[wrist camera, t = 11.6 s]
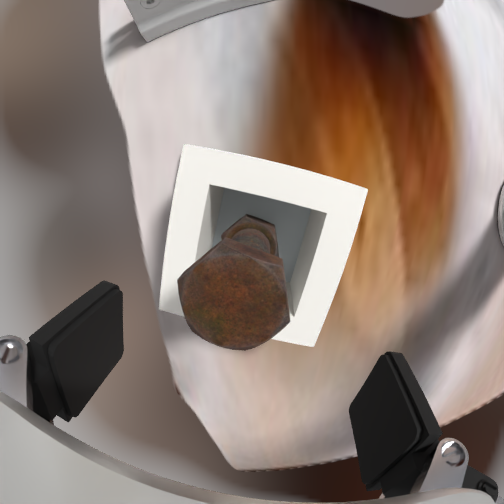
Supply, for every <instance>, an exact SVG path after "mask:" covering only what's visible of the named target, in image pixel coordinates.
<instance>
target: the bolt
mask: <svg viewBox="0 0 504 504" xmlns="http://www.w3.org/2000/svg"><path fill="white" fill-rule="evenodd" d="M177 284H178V293H179V298H180V303H181V307H182V310H183V314H184V317H185V319H186V321H187V324H188V325H189V327H190V329H191V330H192V331H193V332H194V333H195V334H197V335H198V336H200V337H201V338H203V339H204V340H206V341H208V342H210V343H212V344H215V345H217V346H220V347H223V348H228V349H233V350H248V349H252V348H255V347H257V346H259V345H261V344H263V343H265V342H266V341H268V340H270V339H271V338H273V337H274V336H275V335H277V334H278V333H279V332H280V331H281V330H282V329H284V328H285V327H286V326H287V325H288V324H289V323H290V311H289V303H288V295H287V288H286V280H285V273H284V266H283V259H282V258H280V257H279V249H278V242H277V235H276V229H275V225H274V224H272V223H270V222H268V221H265V220H263V219H260V218H258V217H255V216H252V215H248V214H245V215H244V216H243V217H241V218H240V219H239V220H238V221H236V222H235V223H234V224H233V225H231V226H230V227H229V228H228V229H227V230H226V231H224V232H223V234H222V235H221V241H220V242H219V243H218V244H216V245H215V246H214V247H213V248H211V249H210V250H209V251H208V252H207V253H205V254H204V255H203V256H202V257H201V258H199V259H198V260H197V261H196V262H195V263H194V264H192V265H191V266H190V267H189V268H188V269H186V270H185V271H184V272H183V273H182V274H181V276H180V277H179V278H178V279H177Z"/></svg>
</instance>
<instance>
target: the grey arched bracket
mask: <svg viewBox="0 0 504 504" xmlns="http://www.w3.org/2000/svg"><path fill="white" fill-rule="evenodd" d="M124 1H125V3H126V5H127V7H128V9H129V11H130V13H131V15H132V17H133V19H134V21H135V23H136V25H137V27H138V29H139V31H140V33H141V35H142V36H143V38H144V39H145V40H146V41H147V42H149V41H151V40H153V39H156V38H158V37H160V36H162V35H164V34H167V33H169V32H171V31H173V30H176V29H178V28H181V27H183V26H186V25H188V24H191V23H194V22H196V21H199V20H202V19H205V18H208V17H211V16H214V15H217V14H220V13H223V12H227V11H230V10H234V9H237V8H241V7H245V6H249V5H253V4H258V3H262V2H267V1H272V0H124Z"/></svg>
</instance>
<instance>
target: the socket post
mask: <svg viewBox="0 0 504 504" xmlns="http://www.w3.org/2000/svg"><path fill="white" fill-rule="evenodd" d="M367 191H368V189H366V188H363V187H360V186H357V185H354V184H351V183H348V182H345V181H341V180H338V179H335V178H332V177H328V176H325V175H321V174H318V173H314V172H311V171H307V170H304V169H300V168H296V167H292V166H288V165H285V164H281V163H277V162H272V161H268V160H264V159H260V158H255V157H251V156H246V155H242V154H237V153H232V152H227V151H222V150H217V149H211V148H206V147H200V146H194V145H188V144H184V145H183V150H182V154H181V159H180V164H179V169H178V174H177V179H176V184H175V189H174V195H173V201H172V207H171V213H170V219H169V225H168V232H167V239H166V247H165V254H164V262H163V271H162V280H161V290H160V301H159V310H162V311H166V312H169V313H172V314H176V315H179V316H183V317H184V314H183V310H182V307H181V303H180V298H179V293H178V284H177V279H178V278H179V277H180V276H181V274H182V273H183V272H184V271H185V270H186V269H188V268H189V267H190V266H191V265H192V264H194V263H195V262H196V261H197V260H198V259H199V258H201V257H202V256H203V255H204V254H205V253H207V252H208V251H209V250H210V249H211V248H213V247H214V246H215V245H216V244H218V243H219V242H220V241H221V235H222V234H223V232H224V231H226V230H227V229H228V228H229V227H230V226H231V225H233V224H234V223H235V222H236V221H238V220H239V219H240V218H241V217H243V216H244V215H245V214H248V215H252V216H255V217H258V218H260V219H263V220H265V221H268V222H270V223H272V224H274V225H275V229H276V235H277V242H278V249H279V257H280V258H282V259H283V266H284V273H285V280H286V288H287V295H288V303H289V311H290V323H289V324H288V325H287V326H286V327H285V328H284V329H282V330H281V331H280V332H279V333H278V334H277V335H275V336H274V337H273V338H271V339H275V340H280V341H284V342H289V343H294V344H300V345H305V346H310V347H314V345H315V342H316V340H317V338H318V335H319V333H320V330H321V328H322V326H323V323H324V321H325V318H326V316H327V313H328V310H329V308H330V305H331V303H332V300H333V297H334V295H335V292H336V289H337V287H338V284H339V281H340V278H341V275H342V273H343V270H344V267H345V264H346V261H347V258H348V255H349V252H350V249H351V246H352V243H353V240H354V236H355V233H356V230H357V227H358V223H359V220H360V216H361V213H362V210H363V206H364V202H365V199H366V195H367Z"/></svg>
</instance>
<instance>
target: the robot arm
mask: <svg viewBox="0 0 504 504" xmlns="http://www.w3.org/2000/svg"><path fill="white" fill-rule="evenodd" d="M498 228H499V234H500V238H501V241H502V244H503V246H504V185H503V188H502V191H501V195H500V199H499V207H498ZM29 339H30V342H28V343H27V344H26V343H25V342H24V341H23V340H22V339H21V338H19V337H17V336H13V335H7V336H2V337H0V504H504V499H503V498H502V497H501V496H499V497H498V486H497V484H496V482H495V481H494V480H492V479H491V478H489V477H488V476H486V475H484V474H482V473H480V472H479V471H477V470H475V469H473V468H472V467H470V466H468V465H467V464H468V452H467V450H466V448H465V447H464V445H463V444H462V443H461V442H459V441H458V440H456V439H453V438H446V439H443V440H442V441H440V442H439V441H438V438H439V437H440V436H441V434H442V431H441V429H440V427H439V425H438V422H437V420H436V418H435V416H434V414H433V412H432V410H431V408H430V406H429V403H428V401H427V399H426V397H425V395H424V393H423V391H422V390H421V388H420V386H419V384H418V382H417V380H416V378H415V376H414V374H413V372H412V370H411V369H410V367H409V365H408V363H407V361H406V359H405V358H404V356H403V354H402V353H396V352H386V353H385V354H384V355H381V356H380V358H379V359H378V361H377V363H376V365H375V366H374V368H373V370H372V371H371V373H370V375H369V376H368V378H367V380H366V381H365V383H364V385H363V386H362V388H361V389H360V391H359V392H358V394H357V395H356V397H355V398H354V400H353V402H352V403H351V405H350V408H349V414H350V419H351V424H352V429H353V434H354V439H355V444H356V449H357V455H358V460H359V466H360V472H361V478H362V482H363V483H364V484H366V489H367V491H372V490H380V489H381V488H382V492H383V493H382V495H381V496H380V498H379V499H374V500H366V501H354V502H337V503H301V502H283V501H271V500H262V499H254V498H247V497H241V496H235V495H229V494H224V493H219V492H215V491H210V490H205V489H202V488H197V487H194V486H190V485H186V484H183V483H180V482H176V481H173V480H170V479H167V478H163V477H161V476H158V475H155V474H152V473H149V472H147V471H144V470H142V469H139V468H136V467H134V466H131V465H129V464H127V463H124V462H122V461H120V460H118V459H115V458H113V457H111V456H109V455H107V454H105V453H103V452H100V451H98V450H97V449H95V448H93V447H91V446H89V445H87V444H85V443H83V442H82V441H79V440H78V439H76V438H74V437H73V436H71V435H69V434H67V433H66V432H64V431H62V430H61V429H59V428H57V427H56V426H54V423H53V419H54V417H55V416H56V415H57V416H59V417H61V418H62V419H64V420H65V421H67V422H69V421H70V420H71V418H72V417H77V416H78V415H79V414H80V412H81V411H82V410H83V408H84V407H85V405H86V404H87V403H88V401H89V400H90V399H91V397H92V396H93V395H94V393H95V392H96V390H97V389H98V387H99V386H100V385H101V384H102V382H103V381H104V379H105V378H106V377H107V376H108V374H109V373H110V372H111V370H112V369H113V368H114V367H115V365H116V364H117V363H118V361H119V360H120V359H121V357H122V354H123V351H124V345H123V293H122V291H120V290H119V286H117V285H115V284H113V283H110V282H107V281H102V282H100V283H99V284H98V285H96V286H95V287H94V288H92V289H91V290H89V291H88V292H87V293H85V294H84V295H82V296H81V297H80V298H78V299H77V300H76V301H74V302H73V303H72V304H70V305H69V306H68V307H67V308H65V309H64V310H63V311H61V312H60V313H59V314H58V315H56V316H55V317H54V318H52V319H51V320H50V321H49V322H47V323H46V324H45V325H43V326H42V327H41V328H40V329H39V330H37V331H36V332H35V333H34V334H32V335H31V336H30V337H29Z"/></svg>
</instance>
